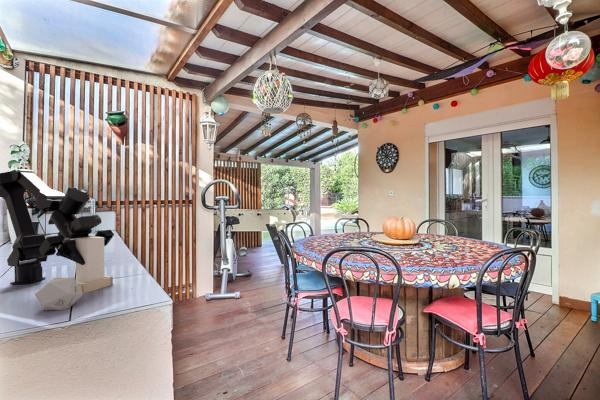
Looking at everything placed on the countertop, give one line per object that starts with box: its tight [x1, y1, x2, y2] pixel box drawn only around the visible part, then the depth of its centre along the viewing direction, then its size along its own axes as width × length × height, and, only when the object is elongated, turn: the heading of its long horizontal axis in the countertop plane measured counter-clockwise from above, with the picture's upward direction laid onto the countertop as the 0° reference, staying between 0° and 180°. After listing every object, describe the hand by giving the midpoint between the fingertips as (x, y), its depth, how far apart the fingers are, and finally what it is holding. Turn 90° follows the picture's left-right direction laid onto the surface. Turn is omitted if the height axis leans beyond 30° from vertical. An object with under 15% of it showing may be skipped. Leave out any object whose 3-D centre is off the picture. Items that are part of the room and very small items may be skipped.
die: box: [34, 276, 84, 311], centre depth 72 cm, size 8×9×10 cm
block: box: [75, 237, 105, 284], centre depth 87 cm, size 5×5×13 cm
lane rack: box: [77, 275, 115, 295], centre depth 89 cm, size 16×10×3 cm, turn 70°
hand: (93, 262), depth 87 cm, fingers closed on block, 5 cm apart
